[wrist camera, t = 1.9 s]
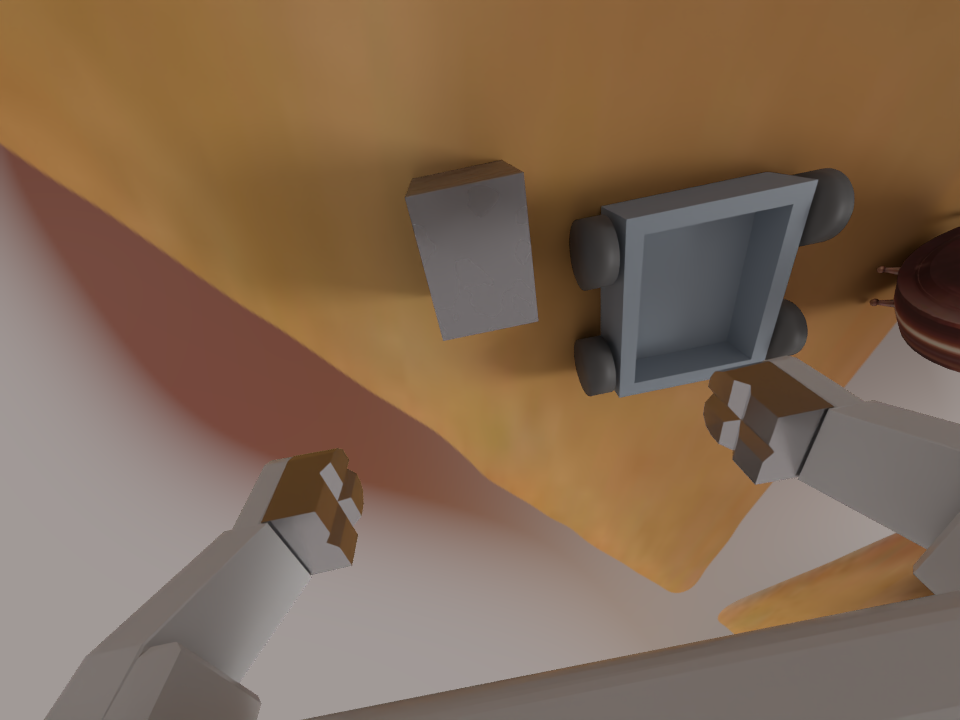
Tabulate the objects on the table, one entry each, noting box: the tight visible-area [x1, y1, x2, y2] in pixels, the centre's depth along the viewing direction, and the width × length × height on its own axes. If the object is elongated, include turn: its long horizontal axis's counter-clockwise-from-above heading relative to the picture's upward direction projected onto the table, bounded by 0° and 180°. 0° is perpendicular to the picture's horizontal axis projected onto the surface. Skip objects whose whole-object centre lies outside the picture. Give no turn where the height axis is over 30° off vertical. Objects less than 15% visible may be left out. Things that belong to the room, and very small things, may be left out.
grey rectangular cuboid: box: [405, 160, 538, 341], centre depth 20 cm, size 7×5×6 cm
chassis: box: [569, 168, 854, 398], centre depth 24 cm, size 12×14×4 cm
